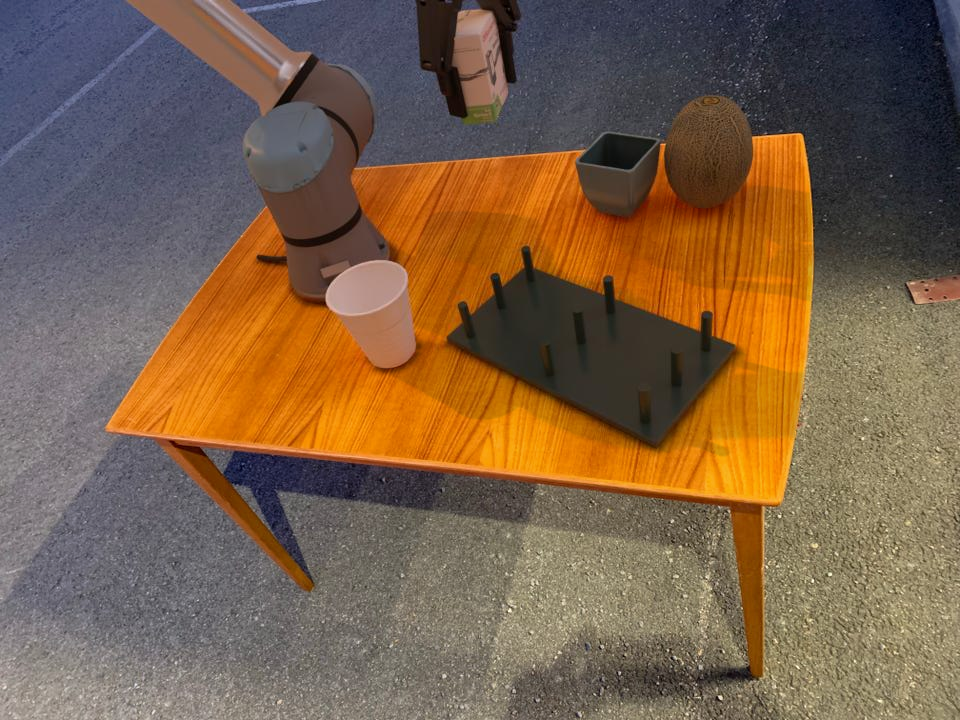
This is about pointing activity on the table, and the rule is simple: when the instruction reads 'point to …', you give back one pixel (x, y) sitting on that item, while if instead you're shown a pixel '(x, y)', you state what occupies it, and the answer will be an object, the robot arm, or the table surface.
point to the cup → (375, 310)
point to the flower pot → (618, 172)
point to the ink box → (480, 65)
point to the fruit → (708, 151)
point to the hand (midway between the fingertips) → (483, 97)
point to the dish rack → (593, 350)
